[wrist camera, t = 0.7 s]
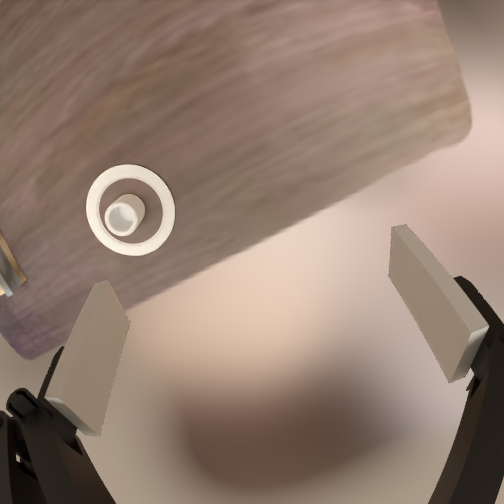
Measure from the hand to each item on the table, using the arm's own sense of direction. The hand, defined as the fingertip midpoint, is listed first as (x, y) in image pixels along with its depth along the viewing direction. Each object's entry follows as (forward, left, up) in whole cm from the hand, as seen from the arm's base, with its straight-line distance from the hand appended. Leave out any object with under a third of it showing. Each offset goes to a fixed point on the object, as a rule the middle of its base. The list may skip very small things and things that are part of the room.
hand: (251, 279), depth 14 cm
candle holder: (0, -14, -26) cm, 30 cm away
